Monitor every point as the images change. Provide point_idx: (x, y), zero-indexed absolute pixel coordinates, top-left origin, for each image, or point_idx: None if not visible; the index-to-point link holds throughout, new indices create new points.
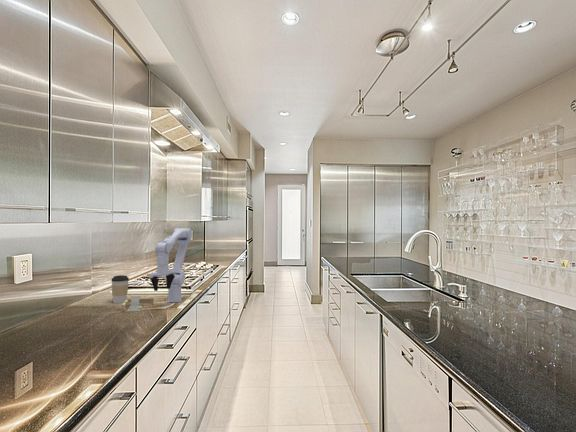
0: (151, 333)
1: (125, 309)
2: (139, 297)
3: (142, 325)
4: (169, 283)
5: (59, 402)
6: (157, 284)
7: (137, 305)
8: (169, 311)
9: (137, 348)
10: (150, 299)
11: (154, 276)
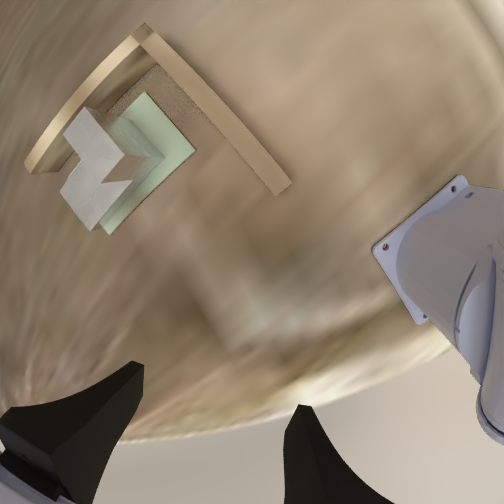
0: None
1: None
2: (112, 174)
3: (36, 386)
4: (288, 479)
5: None
6: (106, 450)
7: (103, 202)
8: (203, 392)
9: None
10: (258, 175)
11: (33, 495)
